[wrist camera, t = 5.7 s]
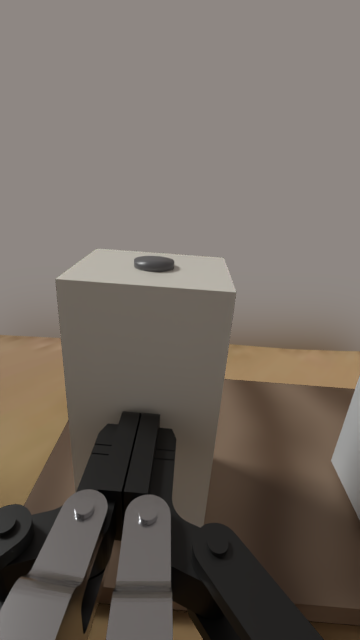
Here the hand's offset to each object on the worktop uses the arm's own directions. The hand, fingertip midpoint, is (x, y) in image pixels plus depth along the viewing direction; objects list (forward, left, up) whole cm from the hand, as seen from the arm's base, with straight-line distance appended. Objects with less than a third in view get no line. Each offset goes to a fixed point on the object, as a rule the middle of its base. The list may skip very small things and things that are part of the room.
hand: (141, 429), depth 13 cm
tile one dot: (0, +3, -6) cm, 7 cm away
